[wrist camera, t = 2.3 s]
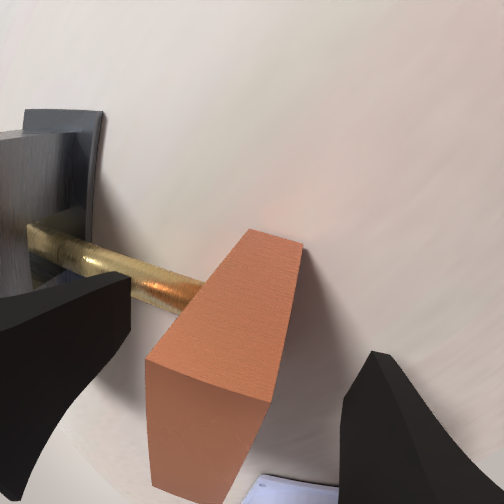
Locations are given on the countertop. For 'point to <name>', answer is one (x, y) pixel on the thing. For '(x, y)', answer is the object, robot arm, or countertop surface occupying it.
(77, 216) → the eye block
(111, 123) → the countertop surface
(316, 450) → the countertop surface
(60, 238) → the brass rod mallet
